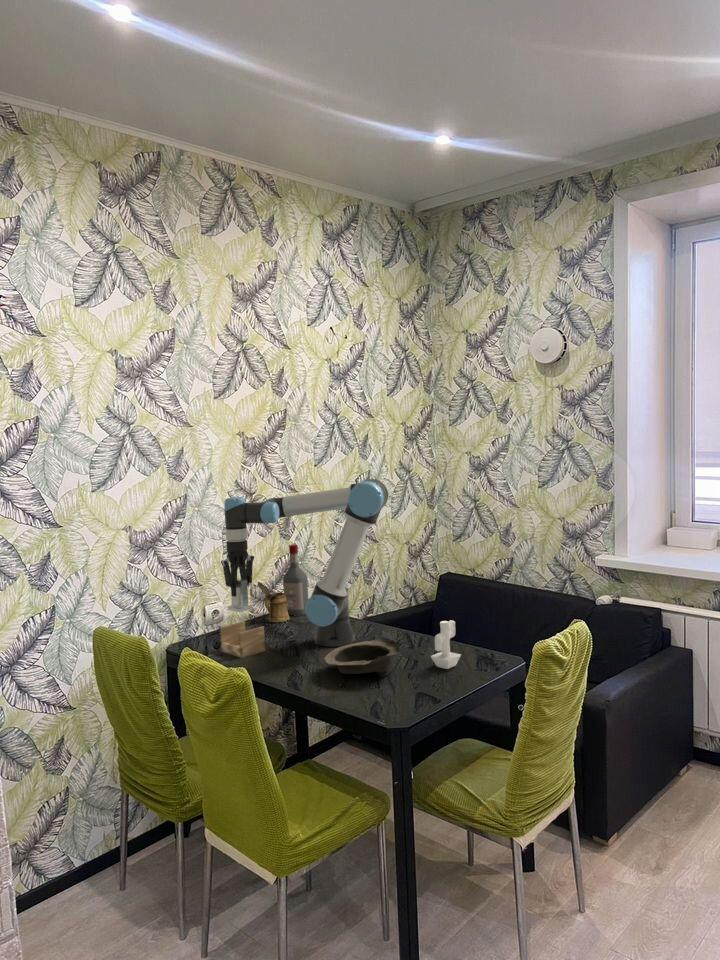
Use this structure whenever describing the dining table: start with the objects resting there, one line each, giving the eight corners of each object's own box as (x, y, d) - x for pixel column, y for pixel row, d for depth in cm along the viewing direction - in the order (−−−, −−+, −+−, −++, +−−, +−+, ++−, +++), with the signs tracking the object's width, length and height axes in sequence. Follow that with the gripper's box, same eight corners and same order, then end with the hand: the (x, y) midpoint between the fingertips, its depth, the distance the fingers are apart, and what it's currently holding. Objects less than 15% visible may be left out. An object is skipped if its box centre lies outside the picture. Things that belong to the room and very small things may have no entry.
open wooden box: (265, 650, 269) (264, 626, 268) (241, 658, 262) (240, 633, 261) (245, 644, 278) (243, 621, 277) (221, 651, 271) (219, 627, 270)
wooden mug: (254, 622, 309) (252, 580, 308) (282, 616, 317) (280, 575, 316) (265, 626, 302) (263, 583, 301) (293, 620, 310) (291, 577, 309)
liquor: (302, 616, 315) (298, 547, 313) (282, 615, 318) (279, 547, 316) (310, 611, 324) (307, 543, 321) (292, 610, 327) (288, 543, 325)
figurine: (428, 667, 242) (426, 623, 241) (445, 660, 249) (444, 616, 248) (446, 672, 237) (444, 626, 236) (463, 664, 244) (462, 619, 243)
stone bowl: (416, 672, 238) (414, 645, 236) (351, 696, 225) (348, 667, 223) (374, 653, 258) (372, 628, 257) (313, 674, 245) (309, 647, 244)
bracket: (252, 609, 268) (251, 579, 268) (239, 612, 264) (237, 582, 263) (241, 606, 273) (239, 577, 272) (227, 609, 269) (226, 579, 268)
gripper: (248, 536, 275) (251, 598, 277) (212, 542, 264) (216, 606, 266) (260, 537, 269) (263, 601, 271) (224, 544, 259) (228, 609, 260)
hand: (240, 603), depth 269 cm, fingers closed on bracket, 2 cm apart
